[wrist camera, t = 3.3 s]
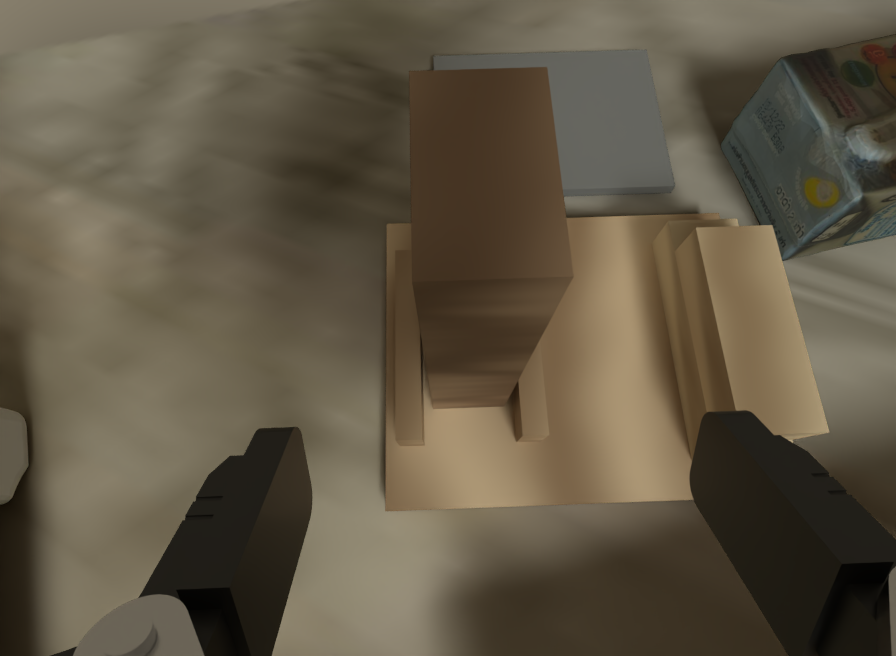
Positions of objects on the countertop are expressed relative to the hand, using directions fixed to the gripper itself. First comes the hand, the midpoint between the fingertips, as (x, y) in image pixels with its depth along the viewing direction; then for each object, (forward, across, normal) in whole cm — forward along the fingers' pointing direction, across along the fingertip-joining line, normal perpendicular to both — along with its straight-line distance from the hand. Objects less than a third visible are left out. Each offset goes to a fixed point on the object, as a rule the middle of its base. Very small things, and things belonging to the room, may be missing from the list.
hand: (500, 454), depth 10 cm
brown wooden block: (+12, 0, +4) cm, 12 cm away
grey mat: (+22, -5, -4) cm, 23 cm away
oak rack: (+12, -4, +5) cm, 14 cm away
